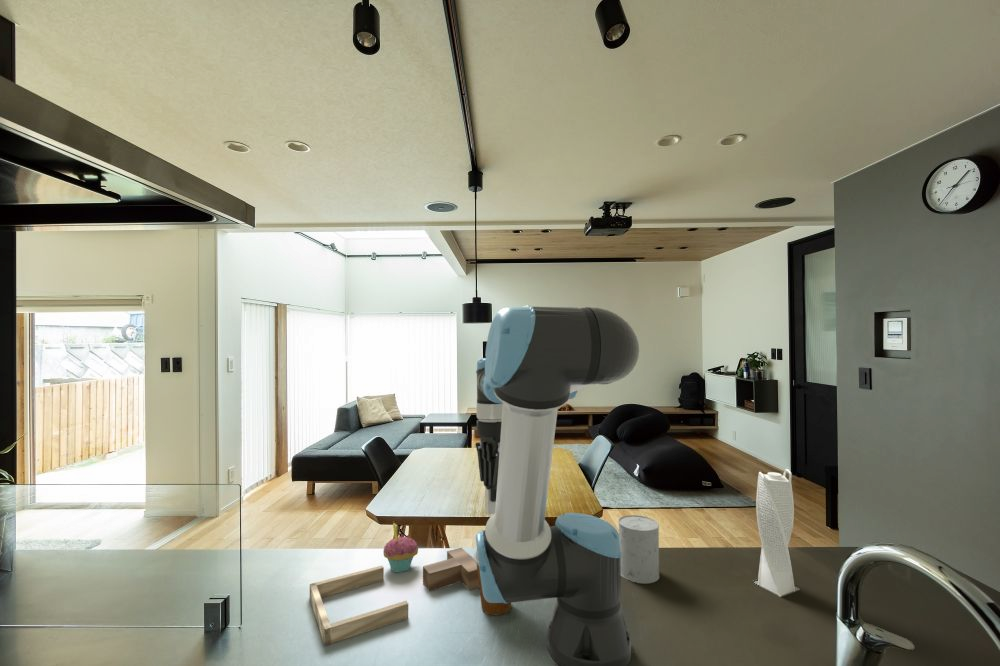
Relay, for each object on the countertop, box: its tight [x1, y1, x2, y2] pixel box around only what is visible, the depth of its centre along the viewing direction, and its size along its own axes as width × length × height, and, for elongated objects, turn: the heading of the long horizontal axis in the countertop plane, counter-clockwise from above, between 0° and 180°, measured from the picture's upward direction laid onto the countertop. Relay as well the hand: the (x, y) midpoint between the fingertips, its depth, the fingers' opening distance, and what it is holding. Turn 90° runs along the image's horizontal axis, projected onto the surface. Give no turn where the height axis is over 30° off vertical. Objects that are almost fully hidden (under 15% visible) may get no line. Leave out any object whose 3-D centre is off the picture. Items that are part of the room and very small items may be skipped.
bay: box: [309, 565, 409, 647], centre depth 96 cm, size 18×16×3 cm
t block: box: [422, 547, 479, 592], centre depth 107 cm, size 12×12×4 cm
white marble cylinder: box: [618, 514, 660, 585], centre depth 110 cm, size 10×10×12 cm
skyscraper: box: [753, 468, 801, 598], centre depth 104 cm, size 8×8×28 cm
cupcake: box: [383, 520, 419, 573], centre depth 113 cm, size 9×8×12 cm
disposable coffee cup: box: [473, 549, 512, 616], centre depth 96 cm, size 10×10×12 cm
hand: (491, 512), depth 113 cm, fingers closed
